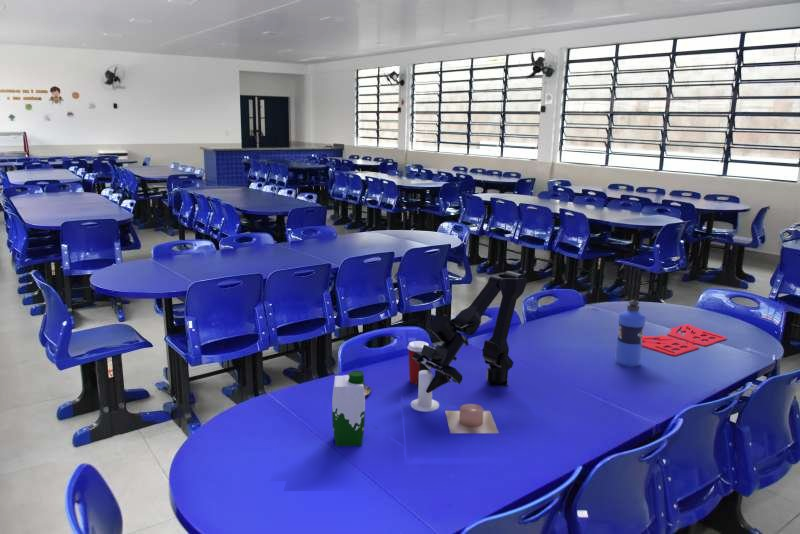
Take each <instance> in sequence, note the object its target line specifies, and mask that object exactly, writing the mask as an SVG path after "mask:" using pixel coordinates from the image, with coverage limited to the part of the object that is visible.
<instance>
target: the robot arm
mask: <svg viewBox="0 0 800 534" xmlns="http://www.w3.org/2000/svg"><path fill="white" fill-rule="evenodd" d="M527 282H528V281H527V278H526V276H525V274H522V273H518V272H514V271H509V270H506V271H505V272H504V273H498V274H496V275H491V276H490V277H489V278H488V281H487V283H486V284H485V286H484V287H483V288H482V290H481V291H480V292H479V293H478V295H477V296H476V297H475V298H474V299H473V301H472V303H471V304H470V305H469V306H468V307H466V308H464V309H462V310H461V311H460V312H459V313H458V314H457V315H456V316H455V317H453V318H450V317H449V316H448V315H446V314H442V315H441V316H440V317H437V318H435V319H434V320H432V321H431V323H430V327H429V328H430V329H429V330H430V331H431V332H432V333H433V334H434V335H435V336H436V337H437V339H439V341H441V343H440V345H439V344H437V345H435V347H434V346H430V345H429V346H427V345H424V346H423V349H422V351H421V353H420V352H415V354H414V355H413V356H412V358H413V359H414V360H415V361H416V362H417V363H418V364H419V366H420V371H421V370H429V371H431V368H432V369H434V377H433V380H432V381H431V383H430V385H429V386H428V388H427V390H426V392H427V393H430V392H431V391H432V392H433V391H435V390H436V389H438V388H440V387H442V386H444V385H446V384H448V383H451V382H453V383H456V385H457V384H458V385H461V382H462V381H463V374H462V373H461V372H460V371H458V370H457V368H455V367H453V366H451V363H452V362H453V361H454V362H455V361H456V360H458V358H457V357H456V356H457V354H458V353H459V352H460V350H461V348H462V347H463V345H464V346H467V347H468V346H469V341H468V337H467V336H473V335H474V334H476V333H477V331H478V329H479V327H480V326H481V323H482V317H483V315H484V313H485V312H486V311H487V309H488V308H489V307H490V305H491V304H492V303H493V301H494V300H495V298H496V297H497V296H498V294H499V293H500V292H501V293H500V294H501V300H500V305H499V308H498V311H497V312H498V313H497V317H496V321H495V325H494V328H493V332H492V336H491V337H490V338H489V339H488V340H487V339H486V340H485V341H484V342H483V343H484V344H483V347H482V350H481V351H482V357H483V360H484V363H485V364H486V365H488V367H487V368H486V378H485V379H486V381H487V382H488V384H489V386H499V387H500V386H505V387H506V386H508V387H509V382H508V378H509V377H508V375H509V374H508V373H509V371H510V369H512V368H513V366H514V361H513V360H512V358H511V357H509V351H510V350H509V349H510V348H509V344H508V341H507V340H508V335H509V332H510V328H511V324H512V319H513V317H514V316H513V315H514V311H515V308H516V303H517V300H518V299H519V298H520V297H521V296H522V295H523V294H524V291H525V289H526V286H527ZM463 334H464V335H465V336H464V335H463ZM451 379H452V381H451ZM418 385H419V377H418V381H417V384H415V386H416V388H418Z"/></svg>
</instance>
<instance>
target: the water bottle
mask: <svg viewBox="0 0 800 534" xmlns="http://www.w3.org/2000/svg"><path fill="white" fill-rule="evenodd" d="M627 303H628V304H627V307H626V310H625V311H621V312H619V314H618V335H617V339H616V347H615V357H614V362H615V363H616V364H617V365H619V366H622V367H627V368H637V367H639V366H640V364H641V357H642V348H643V347H642V337H643V332H644V327H645V325H646V319H647V318H646V315H645V314H643V313H642V312H640V302H639V301H638V300H637V299H630V300H629V301H628V302H627Z"/></svg>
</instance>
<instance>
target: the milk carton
mask: <svg viewBox="0 0 800 534" xmlns="http://www.w3.org/2000/svg"><path fill="white" fill-rule="evenodd" d="M348 374H349V375H348ZM348 374H344V375H335V376H334V381H333V389H332V396H331V397H332V399H331V402H332V403H331V405H332V406H331V408H332V412H331V413H332V415H331V417H332V420H331V421H332V430H333V436H334V442H335V446H336V447H359V446H360V447H361V446H363V439H364V432H365V425H366V424H365V423H366V422H365V421H366V396H365V393H364V384H365V373H364V372H363V371H361V370H352V371H350V372H348Z"/></svg>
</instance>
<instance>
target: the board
mask: <svg viewBox="0 0 800 534" xmlns="http://www.w3.org/2000/svg"><path fill="white" fill-rule="evenodd" d="M445 415H446V421H447V424H448V429H449V433H450V434H499V433H500V432H499V430H498V427H497V425H496V422H495V420H494V416H493V415H492V413H491V410H483V424H482V425H481V426H478V427H467V426H464V425H462V424H461V423H460V422H459V415H460V410H445Z"/></svg>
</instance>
